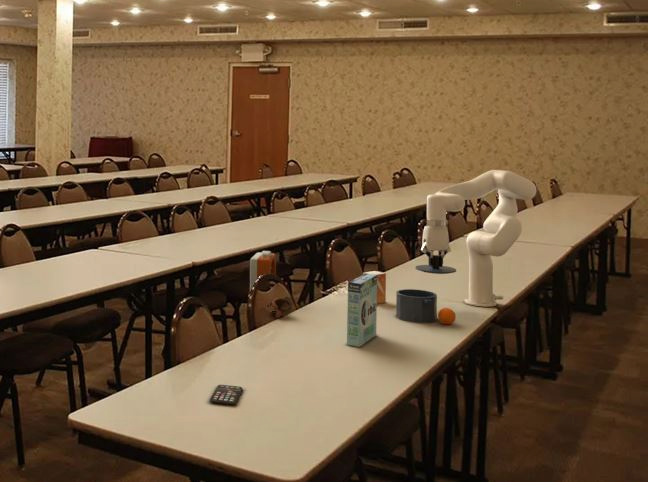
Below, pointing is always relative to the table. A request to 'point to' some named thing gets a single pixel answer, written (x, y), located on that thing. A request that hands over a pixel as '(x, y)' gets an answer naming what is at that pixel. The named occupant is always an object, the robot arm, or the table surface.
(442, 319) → the ball
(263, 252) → the alarm clock
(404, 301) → the pot
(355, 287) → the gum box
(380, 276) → the small box
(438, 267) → the lid
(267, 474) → the table surface
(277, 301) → the orange grey twisted loop
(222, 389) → the black calculator
